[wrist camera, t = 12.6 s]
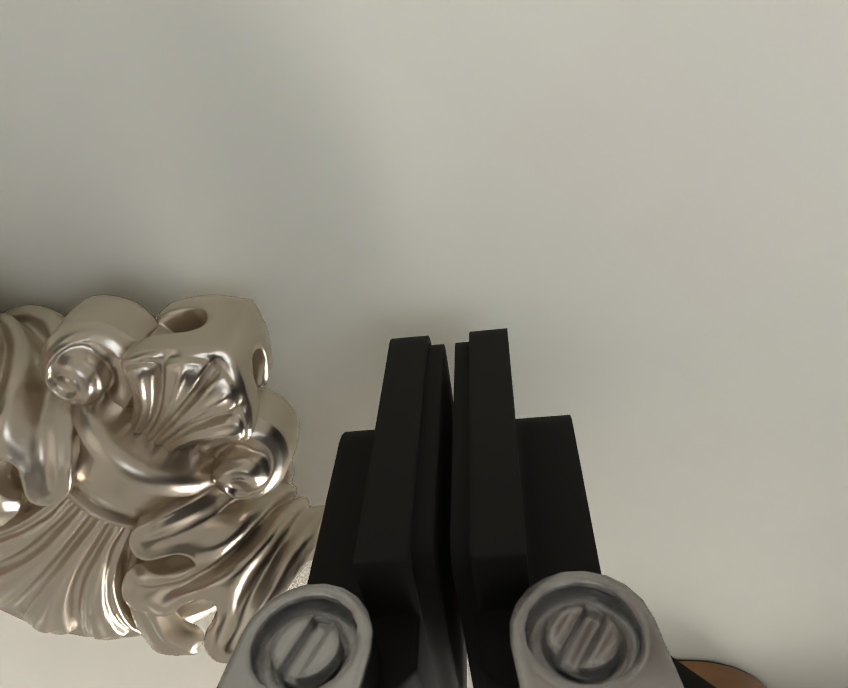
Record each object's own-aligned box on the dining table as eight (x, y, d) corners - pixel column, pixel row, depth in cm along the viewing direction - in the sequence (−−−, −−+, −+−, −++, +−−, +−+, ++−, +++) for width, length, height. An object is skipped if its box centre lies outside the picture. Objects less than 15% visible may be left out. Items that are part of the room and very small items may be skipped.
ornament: (471, 404, 12) (471, 586, 9) (252, 592, 15) (196, 774, 12) (19, 80, 9) (-199, 182, 6) (-132, 389, 12) (-326, 555, 9)
